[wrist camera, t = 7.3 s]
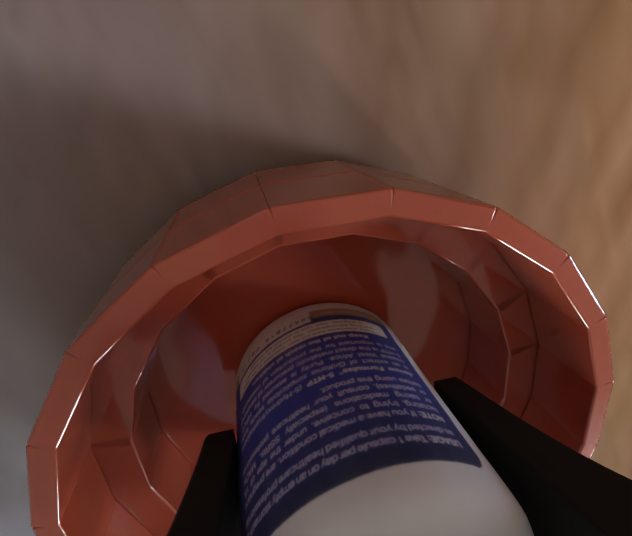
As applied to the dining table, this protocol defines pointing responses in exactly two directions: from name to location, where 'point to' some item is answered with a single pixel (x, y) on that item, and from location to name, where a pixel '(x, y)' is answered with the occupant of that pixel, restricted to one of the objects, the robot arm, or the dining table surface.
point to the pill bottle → (355, 438)
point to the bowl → (293, 293)
